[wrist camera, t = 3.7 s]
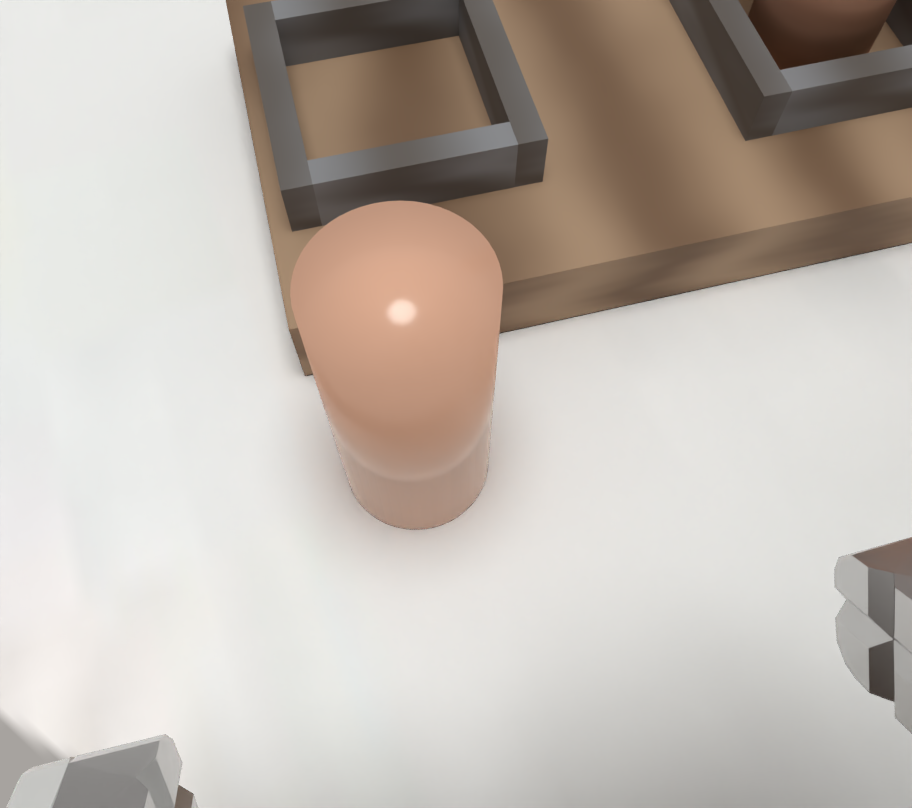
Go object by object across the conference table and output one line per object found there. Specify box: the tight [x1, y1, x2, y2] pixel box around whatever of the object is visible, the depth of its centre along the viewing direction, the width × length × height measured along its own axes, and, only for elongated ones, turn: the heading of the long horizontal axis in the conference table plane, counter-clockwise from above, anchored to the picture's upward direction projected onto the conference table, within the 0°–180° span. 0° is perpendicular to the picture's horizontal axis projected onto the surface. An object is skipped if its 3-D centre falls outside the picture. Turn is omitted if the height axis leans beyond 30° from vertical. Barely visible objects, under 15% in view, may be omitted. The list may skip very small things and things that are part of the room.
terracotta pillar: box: [290, 201, 503, 530], centre depth 22 cm, size 5×5×10 cm
